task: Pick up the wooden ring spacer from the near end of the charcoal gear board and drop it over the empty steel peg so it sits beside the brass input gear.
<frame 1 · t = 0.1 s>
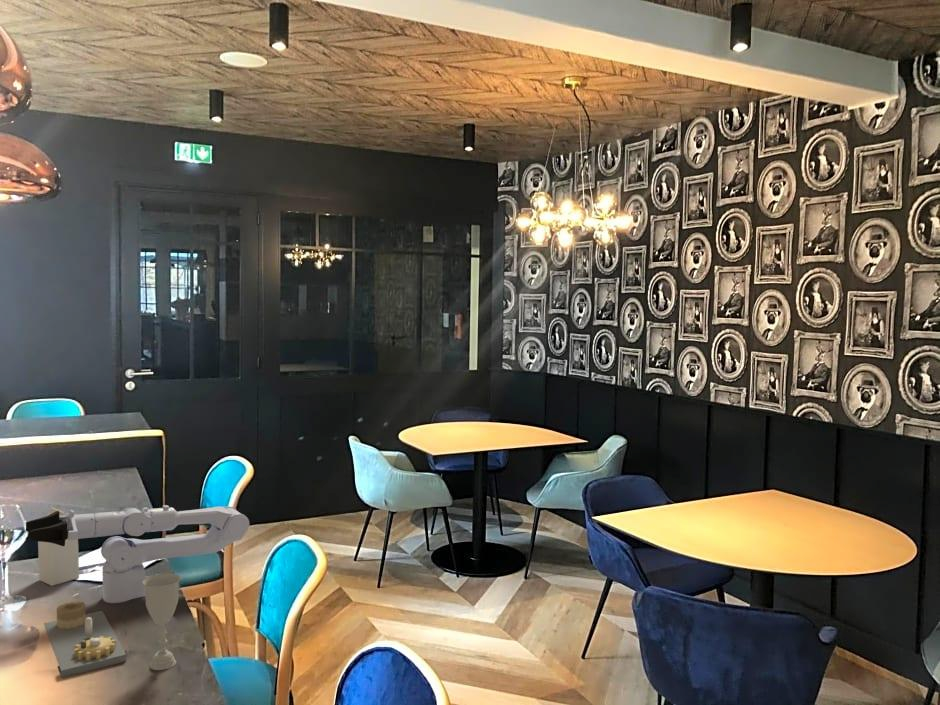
hand: (27, 531, 171), 22 cm above the table, tool horizontal, fingers open, 7 cm apart
milk carton: (59, 580, 198), on the table
chalice: (163, 664, 154), on the table
wooden ring spacer: (71, 623, 169), point 1 cm above the table, touching gear board
gear board: (83, 644, 162), on the table
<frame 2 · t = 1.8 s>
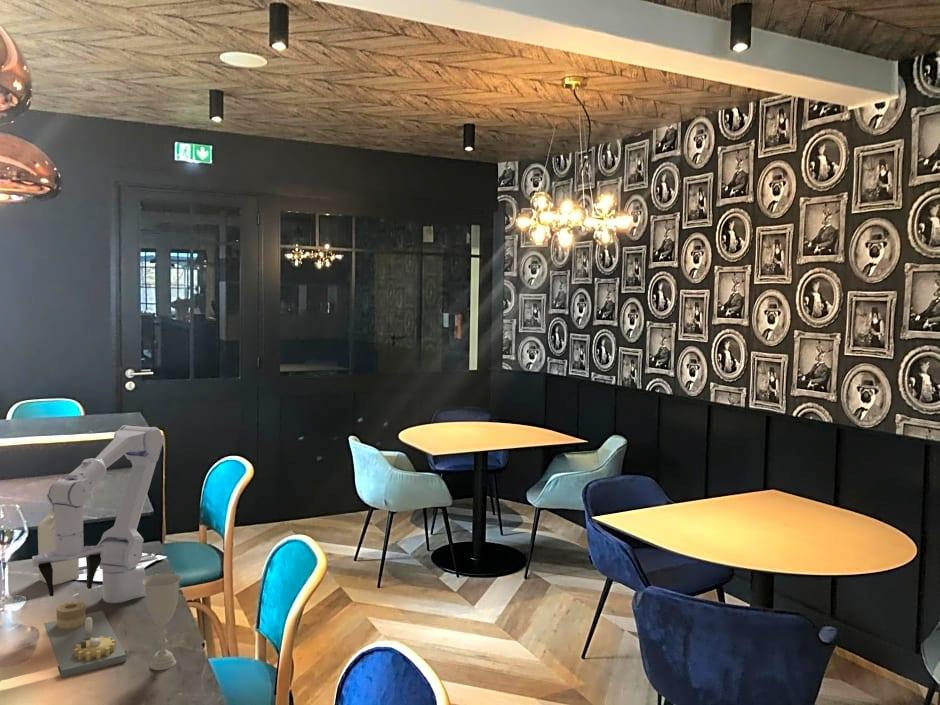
hand: (70, 591, 168), 9 cm above the table, tool pointing down, fingers open, 7 cm apart
nothing on the table moved.
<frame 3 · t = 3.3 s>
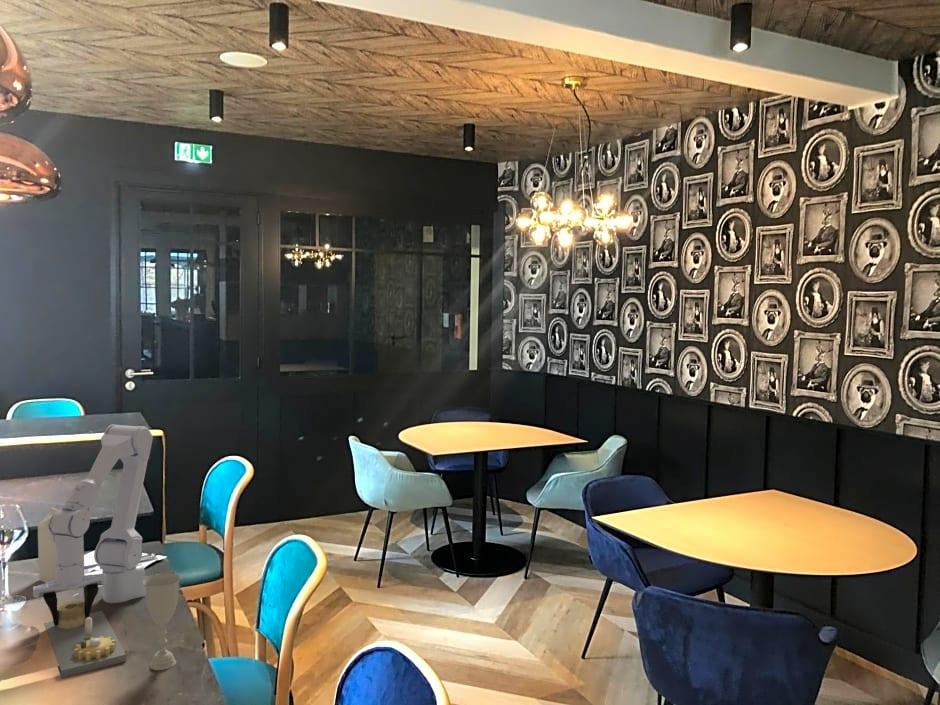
hand: (71, 620, 169), 2 cm above the table, tool pointing down, fingers closed on wooden ring spacer, 6 cm apart
wooden ring spacer: (71, 623, 169), point 2 cm above the table, touching gear board, gripper
everything else where it was.
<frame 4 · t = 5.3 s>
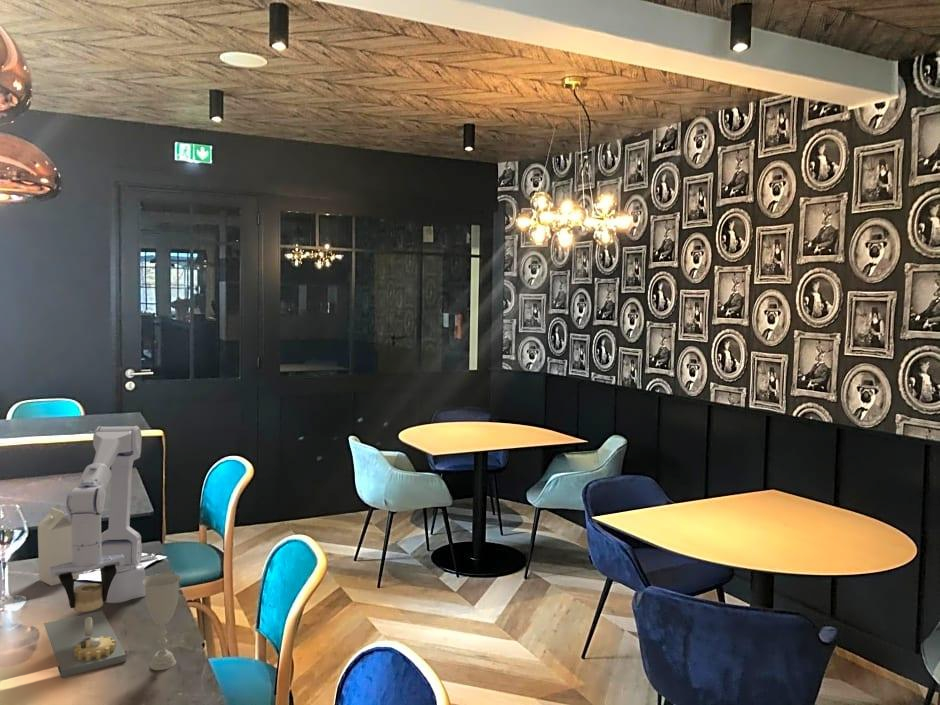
hand: (88, 603, 162), 9 cm above the table, tool pointing down, fingers closed on wooden ring spacer, 6 cm apart
wooden ring spacer: (88, 606, 162), point 9 cm above the table, touching gripper
everything else where it was.
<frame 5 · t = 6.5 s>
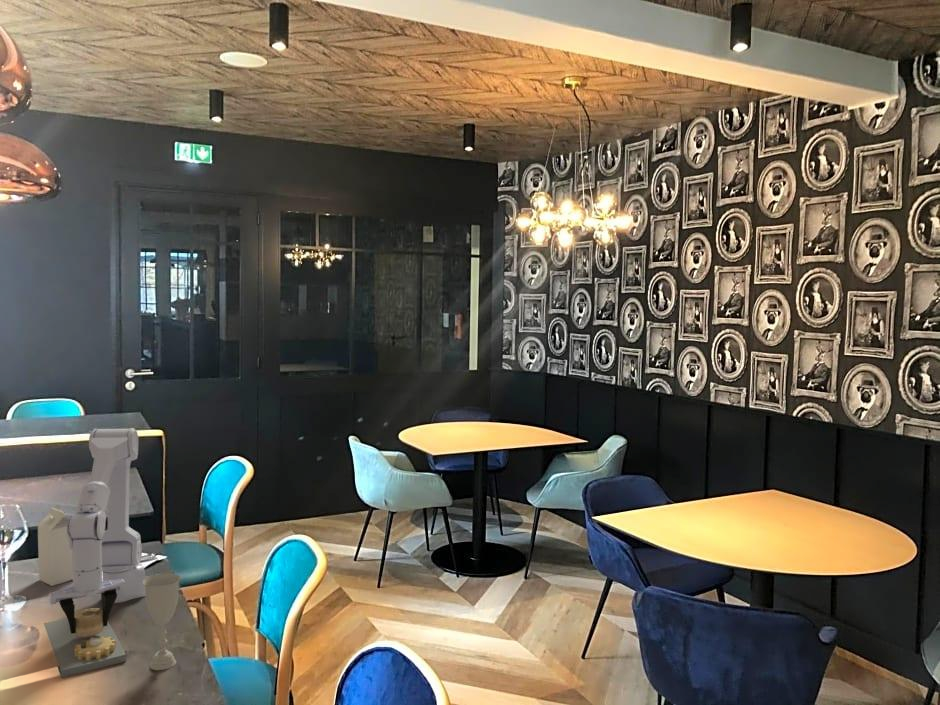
hand: (88, 628, 162), 4 cm above the table, tool pointing down, fingers closed on wooden ring spacer, 6 cm apart
wooden ring spacer: (88, 631, 162), point 3 cm above the table, touching gripper
everything else where it was.
when the fingers open (4 cm above the table, at t = 7.3 s): wooden ring spacer drops 1 cm, resting on gear board.
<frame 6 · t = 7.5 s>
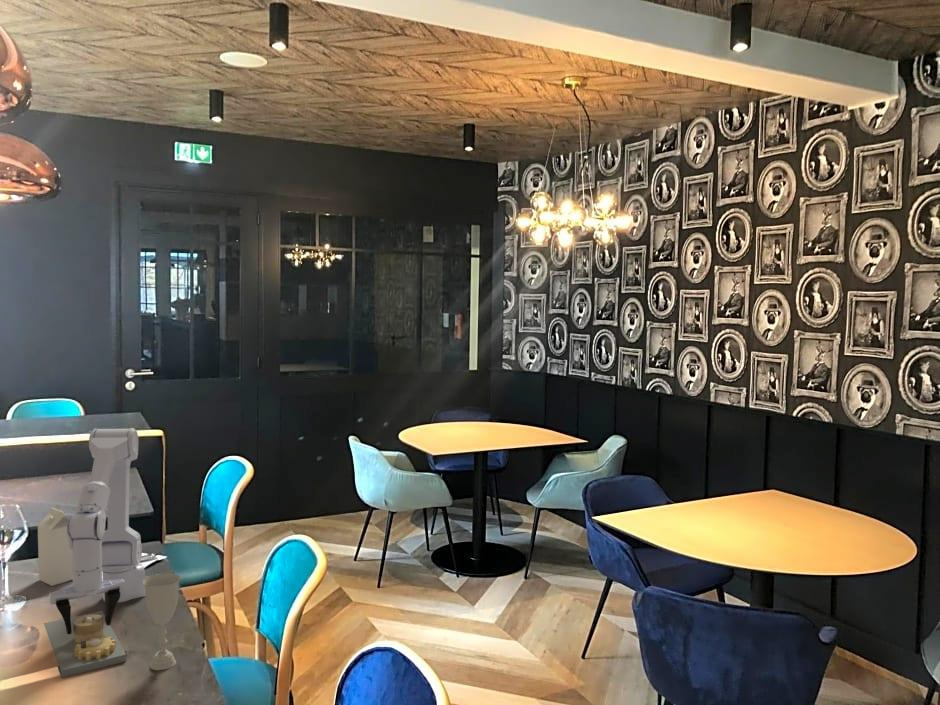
hand: (88, 628, 162), 4 cm above the table, tool pointing down, fingers open, 7 cm apart
wooden ring spacer: (88, 637, 162), point 1 cm above the table, touching gear board
everything else where it was.
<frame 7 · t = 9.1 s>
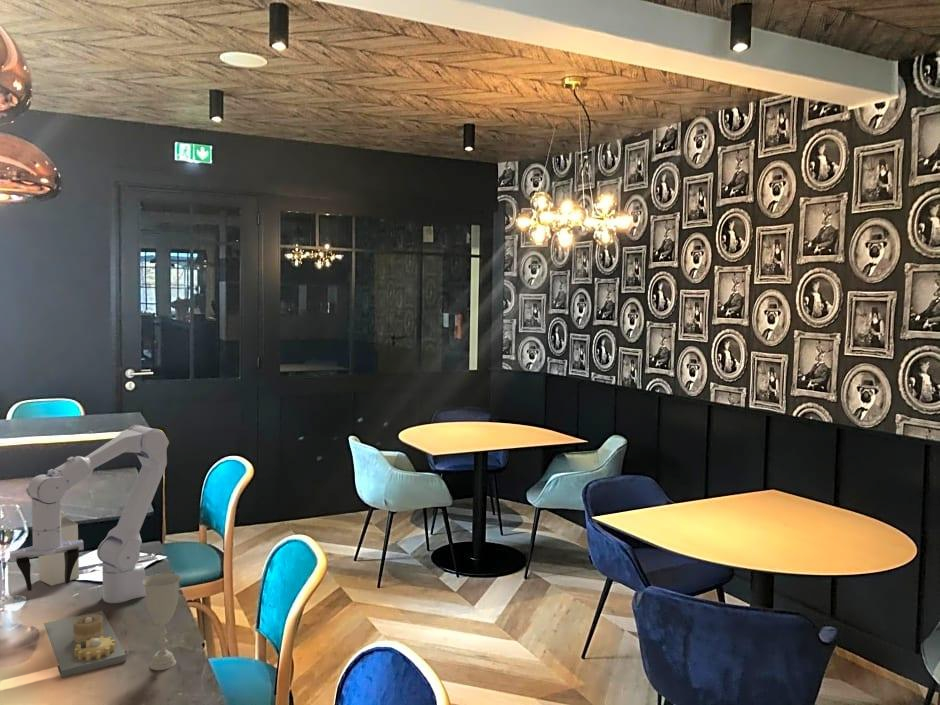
hand: (48, 585, 171), 9 cm above the table, tool pointing down, fingers open, 7 cm apart
nothing on the table moved.
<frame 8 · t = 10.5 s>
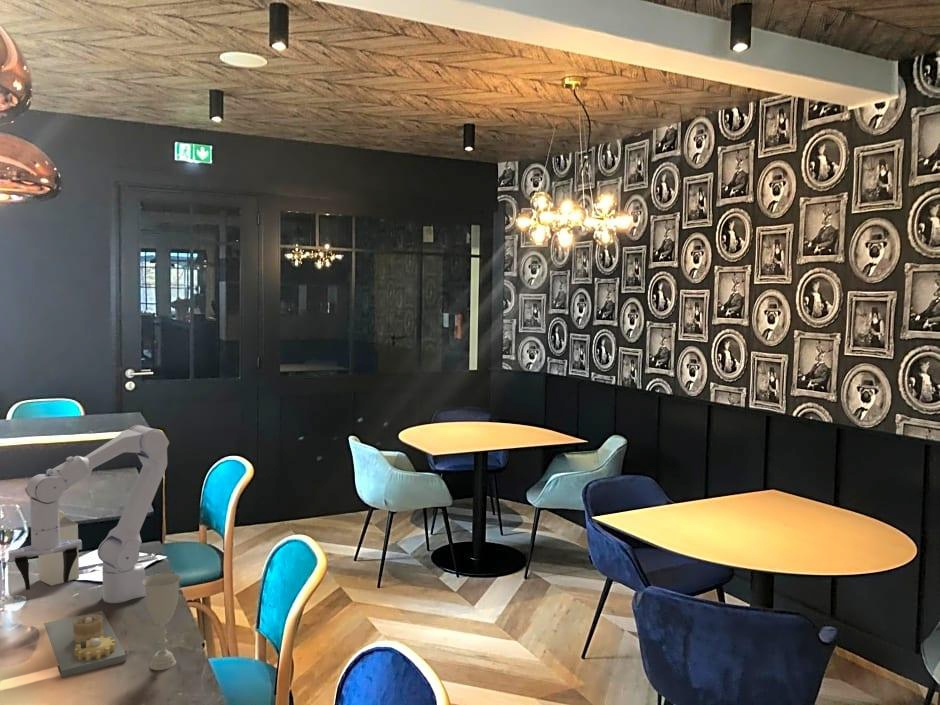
hand: (46, 584, 171), 9 cm above the table, tool pointing down, fingers open, 7 cm apart
nothing on the table moved.
at the end: wooden ring spacer 0.0 cm from the target spot, point 1.5 cm above the table; wooden ring spacer tilted 0°; the gripper is holding nothing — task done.
